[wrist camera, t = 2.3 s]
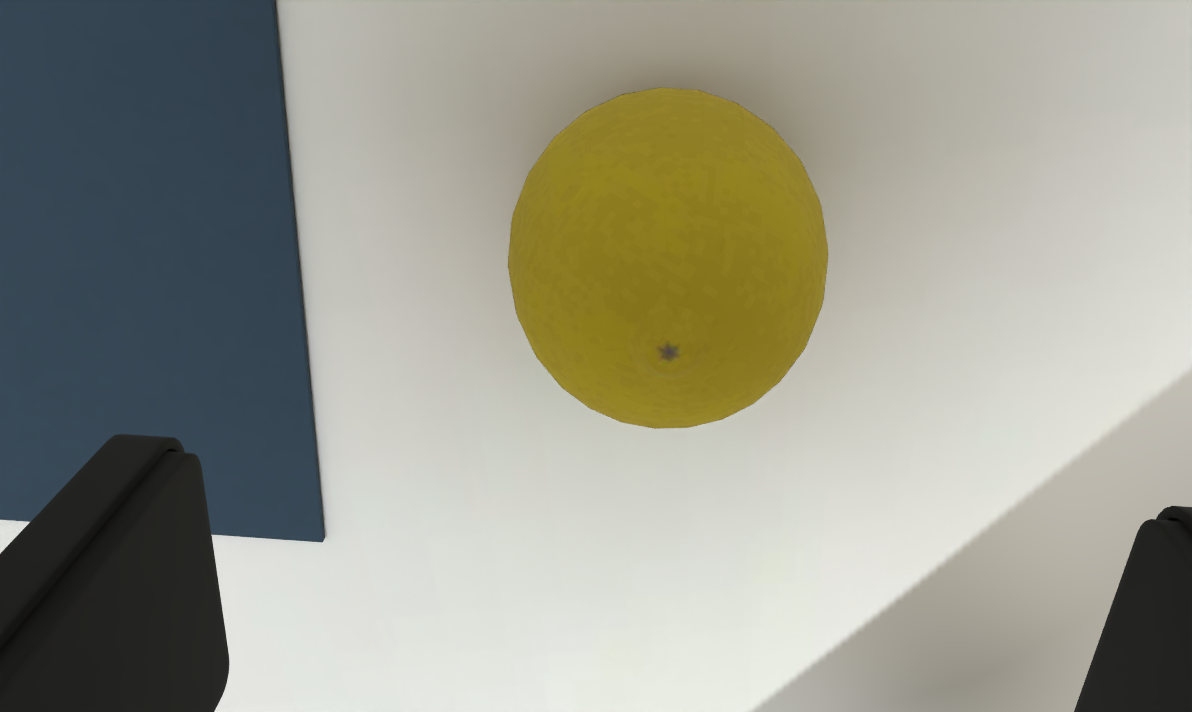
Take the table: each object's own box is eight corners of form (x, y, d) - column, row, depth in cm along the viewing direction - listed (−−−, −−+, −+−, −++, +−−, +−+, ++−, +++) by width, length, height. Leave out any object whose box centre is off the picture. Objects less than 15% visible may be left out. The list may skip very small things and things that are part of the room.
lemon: (833, 92, 20) (932, 224, 13) (746, 330, 23) (789, 551, 16) (568, 18, 20) (520, 113, 13) (509, 269, 22) (442, 467, 15)
